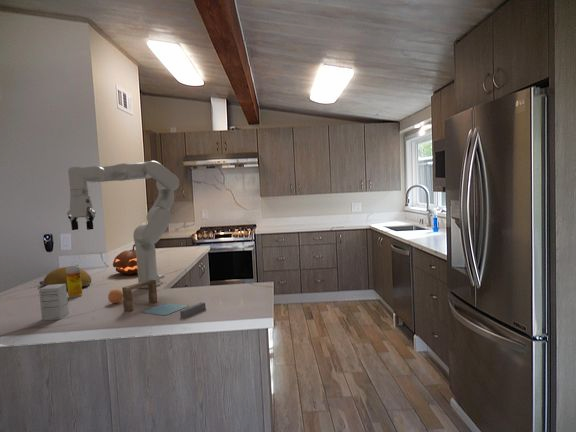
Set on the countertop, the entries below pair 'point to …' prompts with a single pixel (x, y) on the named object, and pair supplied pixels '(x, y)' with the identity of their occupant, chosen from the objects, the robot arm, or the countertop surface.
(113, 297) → the ball
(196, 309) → the stopper
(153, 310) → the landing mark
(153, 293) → the bridge
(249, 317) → the countertop surface
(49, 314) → the supplement box
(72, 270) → the beer can
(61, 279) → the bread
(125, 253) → the pumpkin
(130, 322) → the countertop surface
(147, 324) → the countertop surface
